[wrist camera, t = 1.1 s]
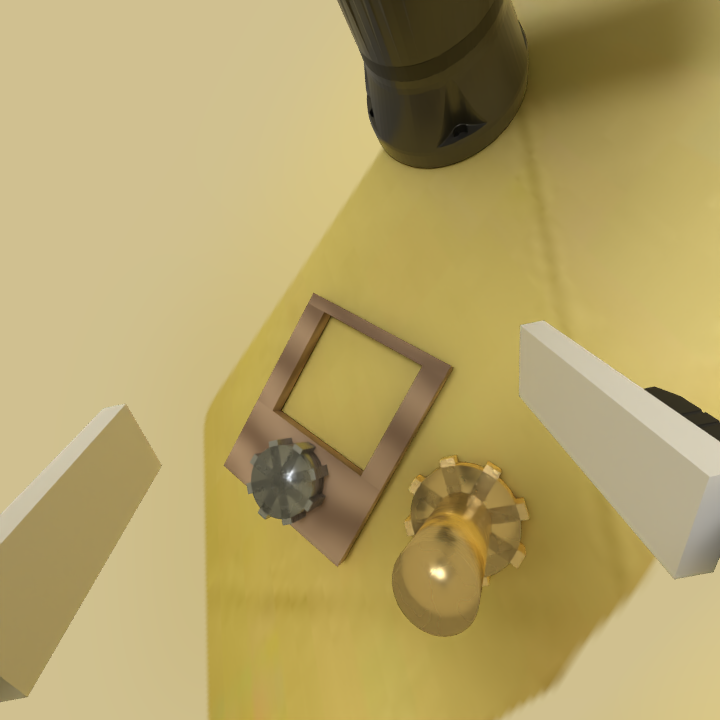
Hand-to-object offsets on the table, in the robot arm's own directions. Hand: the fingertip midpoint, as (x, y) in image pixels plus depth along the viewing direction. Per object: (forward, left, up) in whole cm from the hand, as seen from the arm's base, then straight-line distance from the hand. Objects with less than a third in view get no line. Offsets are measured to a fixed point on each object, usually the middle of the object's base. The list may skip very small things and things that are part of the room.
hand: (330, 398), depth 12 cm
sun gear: (+14, -9, -21) cm, 27 cm away
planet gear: (+7, +6, -23) cm, 24 cm away
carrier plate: (+7, -9, -23) cm, 25 cm away
